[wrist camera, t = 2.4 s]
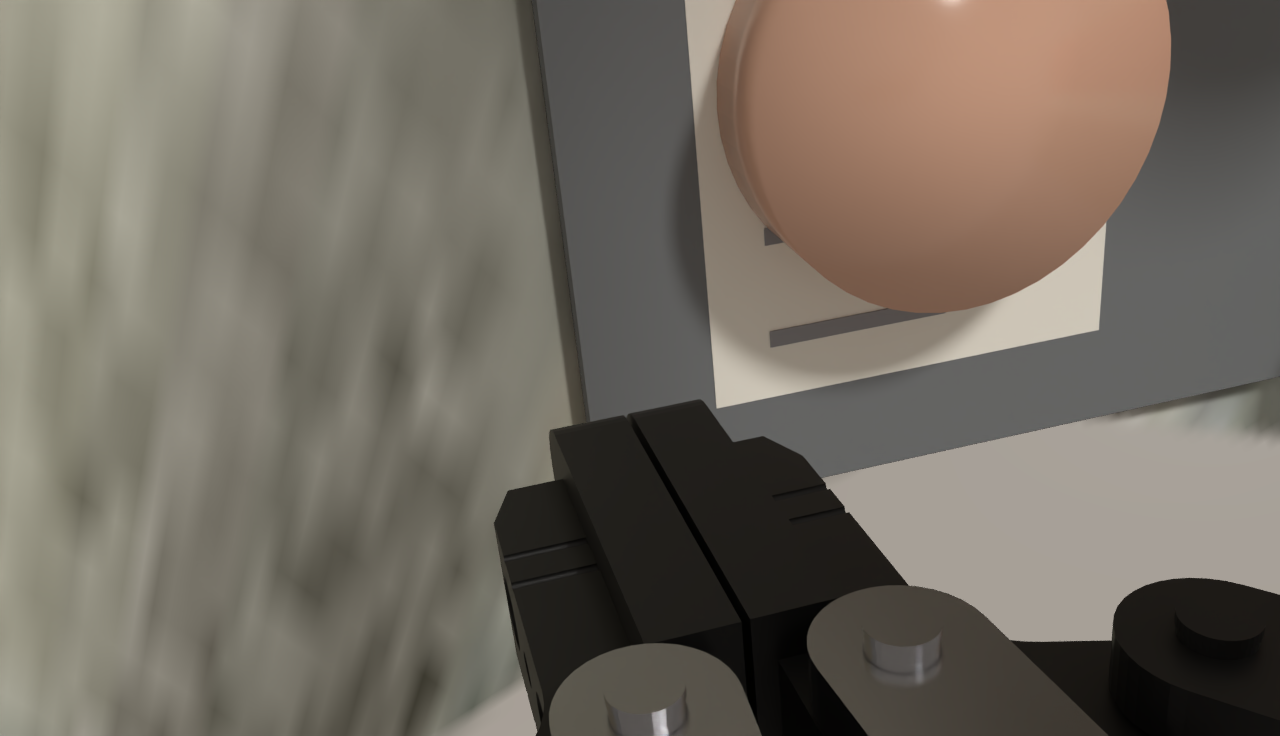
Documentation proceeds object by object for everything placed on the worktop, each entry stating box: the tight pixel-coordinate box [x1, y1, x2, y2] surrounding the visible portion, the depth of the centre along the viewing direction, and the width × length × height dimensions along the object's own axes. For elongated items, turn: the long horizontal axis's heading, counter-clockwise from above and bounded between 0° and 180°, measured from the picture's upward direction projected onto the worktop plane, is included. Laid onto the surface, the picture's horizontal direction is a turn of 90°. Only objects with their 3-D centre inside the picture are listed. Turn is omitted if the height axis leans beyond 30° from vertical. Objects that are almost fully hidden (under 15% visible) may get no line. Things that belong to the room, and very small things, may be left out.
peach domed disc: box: [717, 0, 1171, 313], centre depth 25 cm, size 9×9×2 cm
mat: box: [532, 0, 1280, 478], centre depth 28 cm, size 17×26×1 cm, turn 96°
